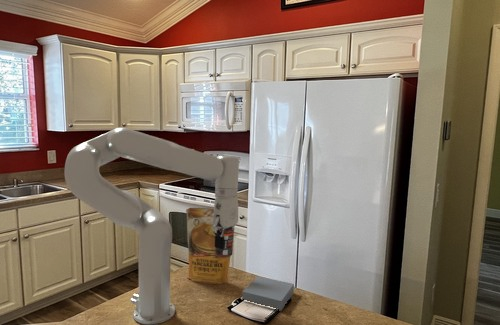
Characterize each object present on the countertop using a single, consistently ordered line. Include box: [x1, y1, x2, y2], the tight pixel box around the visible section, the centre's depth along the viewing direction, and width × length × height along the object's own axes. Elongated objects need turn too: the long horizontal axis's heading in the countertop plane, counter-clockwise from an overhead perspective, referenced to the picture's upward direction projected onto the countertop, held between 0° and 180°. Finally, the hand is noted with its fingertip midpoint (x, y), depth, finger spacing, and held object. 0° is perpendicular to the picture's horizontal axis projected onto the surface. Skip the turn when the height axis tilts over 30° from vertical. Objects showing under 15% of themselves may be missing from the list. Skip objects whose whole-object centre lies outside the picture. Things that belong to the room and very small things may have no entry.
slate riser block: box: [241, 275, 295, 312], centre depth 119 cm, size 14×14×4 cm
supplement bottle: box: [215, 225, 235, 258], centre depth 114 cm, size 6×6×11 cm
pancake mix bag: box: [185, 207, 234, 285], centre depth 130 cm, size 7×19×28 cm, turn 80°
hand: (224, 244), depth 114 cm, fingers closed on supplement bottle, 5 cm apart
